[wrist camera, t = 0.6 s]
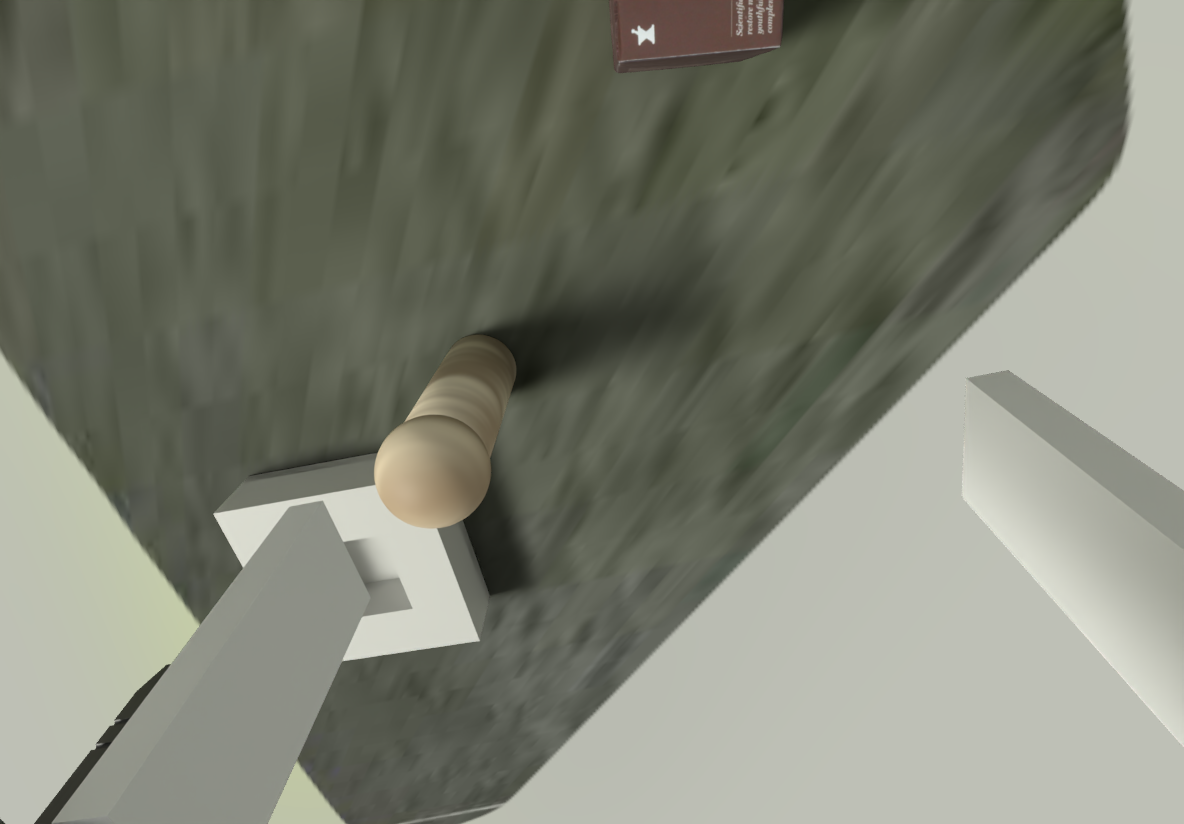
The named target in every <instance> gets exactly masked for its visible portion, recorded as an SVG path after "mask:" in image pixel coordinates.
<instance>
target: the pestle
mask: <svg viewBox="0 0 1184 824" xmlns="http://www.w3.org/2000/svg"><path fill="white" fill-rule="evenodd" d="M515 378H516V363H515V359H514V357H513V355H512V353H511V352H510V350H509V349H508V348H507V347H506V346H505V345H504V344H503V343H502V342H500V341H499V340H497V339H495V338H493V337H490V336H486V335H470V336H466V337H464V338H462V339H460V340H458V341H457V342H456V343H455V344H454V345H453V346H452V347H451V348H450V350H449V352H448V353H447V355H446V356H445V358H444V360H443V361H442V363H441V364H440V366H439V368H438V369H437V371H436V372H435V374H434V376H433V377H432V379H431V380H430V382H429V384H428V385H427V387H426V389H425V390H424V392H423V393H422V395H421V397H420V398H419V400H418V401H417V403H416V405H415V406H414V408H413V409H412V411H411V413H410V414H409V416H408V418H407V419H406V421H405V422H404V423H402V424H401V425H399V426H398V427H397V428H395V429H394V430H393V431H392V432H391V433H390V434H389V435H388V436H387V437H386V439H385V440H384V442H383V443H382V445H381V447H380V449H379V451H378V453H377V457H376V461H375V467H374V480H375V485H376V488H377V491H378V494H379V497H380V499H381V500H382V502H383V503H384V505H385V506H386V508H387V509H388V510H389V511H390V512H391V513H392V514H393V515H394V516H396V517H397V518H398V519H400V520H402V521H403V522H405V523H407V524H410V525H413V526H416V527H420V528H428V529H434V528H443V527H447V526H450V525H453V524H455V523H457V522H459V521H461V520H463V519H465V518H466V517H468V516H469V515H470V514H471V513H472V512H473V511H474V510H475V509H476V508H477V507H478V506H479V504H480V503H481V502H482V500H483V498H484V497H485V495H486V492H487V490H488V487H489V483H490V478H491V463H490V457H491V454H492V450H493V447H494V444H495V441H496V438H497V435H498V432H499V428H500V425H501V422H502V419H503V416H504V413H505V410H506V406H507V403H508V400H509V397H510V394H511V391H512V388H513V384H514V381H515Z"/></svg>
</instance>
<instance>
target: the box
mask: <svg viewBox="0 0 1184 824" xmlns="http://www.w3.org/2000/svg"><path fill="white" fill-rule="evenodd" d="M609 7H610V22H611V36H612V47H613V59H614V69H615V71H616V72H617V73H626V72H638V71H650V70H663V69H673V68H683V67H693V66H702V65H711V64H721V63H729V62H739V61H743V60H745V59H748V58H752V57H754V56H757V55H759V54H763V53H766V52H769V51H772V50H774V49H776V48H778V47H780V46H781V41H782V33H783V12H784V0H609Z"/></svg>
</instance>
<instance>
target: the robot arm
mask: <svg viewBox="0 0 1184 824" xmlns="http://www.w3.org/2000/svg"><path fill="white" fill-rule="evenodd" d="M964 421H965V422H964V451H963V479H962V481H963V482H962V498H963V499H964V500H965V501H966V502H967V503H968V505H969V506H970V507H971V508H972V509H973V510H974V511H975V512H976V514H977V515H978V516H979V517H980V518H981V519H982V520H983V521H984V523H985V524H986V525H987V526H988V527H989V528H990V529H991V530H992V532H993V533H994V534H995V535H996V536H997V537H998V538H999V540H1000V541H1001V542H1002V543H1003V544H1004V545H1005V546H1006V547H1007V548H1008V550H1009V551H1010V552H1011V553H1012V554H1013V555H1014V556H1015V558H1016V559H1017V560H1018V561H1019V562H1020V563H1021V564H1022V565H1023V567H1024V568H1025V569H1026V570H1027V571H1028V572H1029V573H1030V575H1031V576H1032V577H1033V578H1034V579H1035V580H1036V581H1037V582H1038V583H1039V585H1040V586H1041V587H1042V588H1043V589H1044V590H1045V591H1046V593H1048V595H1049V596H1050V597H1051V598H1052V599H1053V600H1054V602H1055V603H1056V604H1057V605H1058V606H1059V607H1060V608H1061V609H1062V610H1063V612H1064V613H1065V614H1066V615H1067V616H1068V617H1069V619H1070V620H1071V621H1072V622H1073V623H1074V624H1075V625H1076V626H1077V628H1079V630H1080V631H1081V632H1082V633H1083V634H1084V635H1085V636H1086V638H1087V639H1088V640H1089V641H1090V642H1091V643H1092V644H1093V645H1094V647H1095V648H1096V649H1097V650H1098V651H1099V652H1100V653H1101V655H1102V656H1103V657H1104V658H1105V659H1106V660H1107V661H1108V663H1109V664H1110V665H1111V666H1112V667H1113V668H1114V669H1115V670H1116V672H1117V673H1118V674H1119V675H1120V676H1121V677H1122V678H1123V679H1124V680H1125V682H1126V683H1127V684H1128V685H1129V686H1130V687H1131V688H1132V690H1133V691H1134V692H1135V693H1136V694H1137V695H1138V696H1139V697H1140V699H1141V700H1142V701H1143V702H1144V703H1145V704H1146V705H1147V707H1148V708H1149V709H1150V710H1151V711H1152V712H1153V713H1154V714H1155V716H1156V717H1157V718H1158V719H1159V720H1160V721H1161V722H1162V723H1163V724H1164V726H1165V727H1166V728H1167V729H1168V730H1169V731H1170V732H1171V734H1172V735H1173V736H1174V737H1175V738H1176V739H1177V740H1178V741H1179V743H1180V744H1181V745H1182V746H1183V747H1184V491H1183V490H1182V489H1180V488H1179V487H1177V486H1176V485H1175V484H1173V483H1172V482H1170V481H1169V480H1167V479H1166V478H1164V477H1163V476H1161V475H1160V474H1159V473H1157V472H1155V471H1154V470H1153V469H1151V468H1150V467H1148V466H1147V465H1145V464H1144V463H1143V462H1141V461H1140V460H1138V459H1137V458H1135V457H1134V456H1132V455H1131V454H1129V453H1128V452H1127V451H1125V450H1124V449H1122V448H1121V447H1119V446H1118V445H1116V444H1115V443H1113V442H1112V441H1111V440H1109V439H1108V438H1106V437H1105V436H1103V435H1102V434H1100V433H1099V432H1097V431H1096V430H1095V429H1093V428H1092V427H1090V426H1088V425H1087V424H1086V423H1084V422H1083V421H1081V420H1080V419H1079V418H1077V417H1076V416H1074V415H1073V414H1071V413H1070V412H1068V411H1067V410H1065V409H1064V408H1062V407H1061V406H1059V405H1058V404H1057V403H1055V402H1054V401H1052V400H1051V399H1049V398H1048V397H1047V396H1045V395H1044V394H1042V393H1041V392H1039V391H1038V390H1036V389H1035V388H1033V387H1032V386H1030V385H1029V384H1027V383H1026V382H1025V381H1023V380H1022V379H1020V378H1019V377H1017V376H1016V375H1014V374H1013V373H1012V372H1010V371H1009V370H1007V371H1001V372H996V373H991V374H986V375H981V376H975V377H970V378H966V391H965V420H964ZM370 598H371V597H370V595H369V593H368V591H367V589H366V587H365V585H364V583H363V581H362V579H361V577H360V575H359V573H358V571H357V569H356V567H355V565H354V563H353V561H352V559H351V557H350V555H349V553H348V551H347V549H346V546H345V544H344V542H343V540H342V538H341V536H340V534H339V532H338V530H337V528H336V526H335V524H334V522H333V520H332V518H331V516H330V514H329V512H328V510H327V508H326V506H325V504H324V502H323V500H322V501H317V502H312V503H306V504H301V505H296V506H290V507H289V508H288V509H287V511H286V512H285V513H284V515H283V516H282V517H281V519H280V520H279V521H278V523H277V524H276V525H275V527H274V528H273V529H272V531H271V532H270V533H269V535H268V536H267V537H266V538H265V540H264V541H263V542H262V544H261V545H260V546H259V548H258V549H257V550H256V552H255V553H254V554H253V556H252V557H251V558H250V560H249V561H248V562H247V564H246V565H245V566H244V568H243V569H242V570H241V572H240V573H239V574H238V576H237V577H236V578H235V580H234V581H233V582H232V584H231V585H230V586H229V588H228V589H227V590H226V592H225V593H224V594H223V596H222V597H221V598H220V600H219V601H218V602H217V604H216V605H215V606H214V608H213V609H212V610H211V612H210V613H209V614H208V616H207V617H206V618H205V620H204V621H203V622H202V624H201V625H200V626H199V628H198V629H197V630H196V632H195V633H194V634H193V636H192V637H191V638H190V640H189V641H188V642H187V644H186V645H185V646H184V648H183V649H182V650H181V652H180V653H179V654H178V656H177V657H176V658H175V660H174V661H173V662H172V664H169V665H166V666H165V667H164V668H163V669H161V670H160V671H159V672H158V673H157V674H156V675H155V676H154V677H152V678H151V679H150V680H149V681H148V682H147V683H146V684H145V685H143V686H142V687H141V688H140V689H139V690H138V691H137V692H136V693H135V694H134V696H133V697H132V698H131V699H130V701H129V702H128V703H127V705H126V706H125V707H124V708H123V710H122V711H121V712H120V714H119V715H118V716H117V717H116V719H115V724H114V725H113V726H110V727H109V728H108V729H107V730H106V732H105V733H104V734H103V736H102V737H101V738H100V739H99V741H98V742H97V743H96V749H95V750H91V751H90V753H89V754H88V755H87V757H85V759H84V760H83V761H82V763H81V764H80V765H79V767H78V768H77V769H76V770H75V772H74V773H73V774H72V776H71V777H70V778H69V779H68V781H67V782H66V783H65V785H64V786H63V787H62V789H61V790H60V791H59V792H58V794H57V795H56V796H55V797H54V799H53V800H52V802H51V803H50V804H49V805H48V807H47V808H46V809H45V810H44V812H43V813H42V814H41V816H40V817H39V818H38V819H37V821H36V822H35V823H34V824H268V822H269V820H270V817H271V815H272V813H273V811H274V809H275V807H276V804H277V802H278V800H279V798H280V796H281V793H282V791H283V789H284V787H285V785H286V782H287V780H288V778H289V776H290V774H291V772H292V769H293V767H294V765H295V763H296V761H297V758H298V756H299V754H300V752H301V750H302V747H303V745H304V743H305V741H306V739H307V736H308V734H309V732H310V730H311V728H312V725H313V723H314V721H315V719H316V717H317V715H318V712H319V710H320V708H321V706H322V704H323V701H324V699H325V697H326V695H327V693H328V690H329V688H330V686H331V684H332V682H333V679H334V677H335V675H336V673H337V671H338V669H339V666H340V664H341V662H342V660H343V658H344V655H345V653H346V651H347V649H348V647H349V644H350V642H351V640H352V638H353V636H354V633H355V631H356V629H357V627H358V625H359V622H360V620H361V618H362V616H363V614H364V612H365V609H366V607H367V605H368V603H369V601H370ZM0 824H5V823H4V822H3V821H2V820H1V819H0Z"/></svg>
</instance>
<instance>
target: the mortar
mask: <svg viewBox="0 0 1184 824" xmlns="http://www.w3.org/2000/svg"><path fill="white" fill-rule="evenodd" d="M376 457H377V453H373V454H368V455H362V456H357V457H351V458H346V459H340V460H335V461H329V462H324V463H318V464H313V465H308V466H302V467H297V468H291V469H286V470H280V471H275V472H269V473H264V474H258V475H253V476H249V477H248V478H247V479H246V480H245V481H244V482H243V483H242V484H241V485H240V486H239V487H238V488H237V489H236V490H235V491H234V492H233V493H232V494H231V496H230V497H229V498H228V499H227V500H226V501H225V502H224V503H223V504H222V505H221V506H220V507H219V508H218V509H217V510H216V511H215V512H214V513H213V514H214V516H215V518H216V519H217V521H218V523H219V525H220V527H221V528H222V530H223V532H224V534H225V536H226V537H227V539H228V541H229V543H230V545H231V546H232V548H233V550H234V552H235V554H236V555H237V557H238V559H239V561H240V563H241V564H242V566H243V568H244V566H245V565H246V564H247V562H248V561H249V560H250V558H251V557H252V556H253V554H254V553H255V552H256V550H257V549H258V548H259V546H260V545H261V544H262V542H263V541H264V540H265V538H266V537H267V536H268V535H269V533H270V532H271V531H272V529H273V528H274V527H275V525H276V524H277V523H278V521H279V520H280V519H281V517H282V516H283V515H284V513H285V512H286V511H287V509H288V508H289V507H290V506H296V505H301V504H306V503H312V502H317V501H322V500H323V502H324V504H325V506H326V508H327V510H328V512H329V514H330V516H331V518H332V520H333V522H334V524H335V526H336V528H337V530H338V532H339V534H340V536H341V538H342V540H343V542H344V544H345V546H346V549H347V551H348V553H349V555H350V557H351V559H352V561H353V563H354V565H355V567H356V569H357V571H358V573H359V575H360V577H361V579H362V581H363V583H364V585H365V587H366V589H367V591H368V593H369V595H370V597H371V598H370V601H369V603H368V605H367V607H366V609H365V612H364V614H363V616H362V618H361V620H360V622H359V625H358V627H357V629H356V631H355V633H354V636H353V638H352V640H351V642H350V644H349V647H348V649H347V651H346V653H345V655H344V658H343V660H342V661H346V660H353V659H360V658H367V657H373V656H380V655H387V654H394V653H400V652H407V651H414V650H421V649H427V648H434V647H441V646H448V645H455V644H461V643H468V642H475V641H480V637H481V633H482V628H483V624H484V620H485V615H486V611H487V607H488V602H489V598H490V595H489V592H488V589H487V586H486V584H485V581H484V578H483V575H482V572H481V570H480V567H479V564H478V561H477V558H476V556H475V553H474V550H473V547H472V544H471V542H470V539H469V536H468V533H467V530H466V528H465V525H464V522H463V520H461V521H459V522H457V523H455V524H453V525H450V526H447V527H443V528H434V529H428V528H420V527H416V526H413V525H410V524H407V523H405V522H403V521H402V520H400V519H398V518H397V517H396V516H394V515H393V514H392V513H391V512H390V511H389V510H388V509H387V508H386V506H385V505H384V503H383V502H382V500H381V499H380V497H379V494H378V491H377V488H376V485H375V480H374V467H375V461H376Z"/></svg>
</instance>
